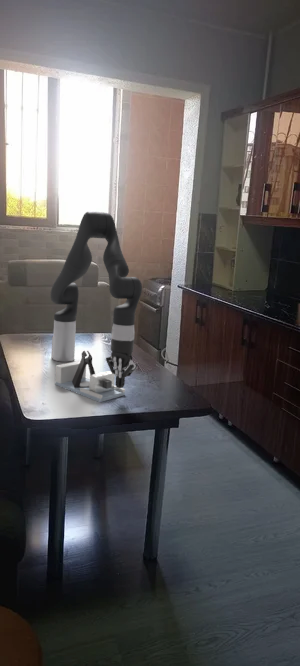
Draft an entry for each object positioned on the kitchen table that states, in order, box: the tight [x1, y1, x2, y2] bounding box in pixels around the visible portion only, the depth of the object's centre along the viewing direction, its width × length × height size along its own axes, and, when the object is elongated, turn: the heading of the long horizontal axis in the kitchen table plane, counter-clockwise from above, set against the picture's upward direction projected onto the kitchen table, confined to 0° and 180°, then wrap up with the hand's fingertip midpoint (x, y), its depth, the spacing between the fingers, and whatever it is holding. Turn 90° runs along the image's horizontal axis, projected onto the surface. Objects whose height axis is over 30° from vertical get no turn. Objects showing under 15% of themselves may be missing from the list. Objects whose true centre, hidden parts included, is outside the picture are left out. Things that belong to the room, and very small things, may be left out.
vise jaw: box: [89, 370, 116, 394], centre depth 177 cm, size 5×9×6 cm, turn 139°
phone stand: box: [72, 350, 96, 388], centre depth 182 cm, size 9×6×12 cm, turn 105°
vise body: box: [54, 360, 126, 403], centre depth 181 cm, size 24×12×7 cm, turn 49°
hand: (119, 387), depth 172 cm, fingers closed
